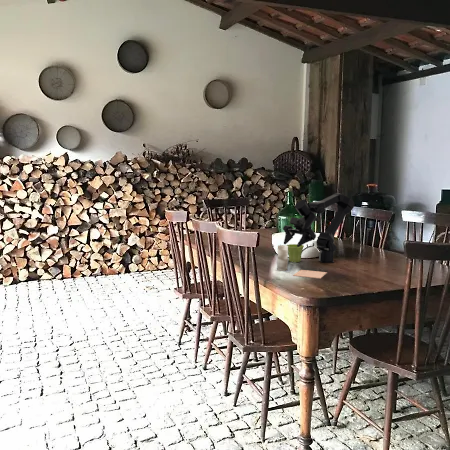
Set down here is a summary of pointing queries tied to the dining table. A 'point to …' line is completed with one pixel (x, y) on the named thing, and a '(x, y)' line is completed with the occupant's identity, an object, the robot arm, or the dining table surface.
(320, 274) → the placemat
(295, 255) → the plant pot
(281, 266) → the white cylinder
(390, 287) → the dining table surface
